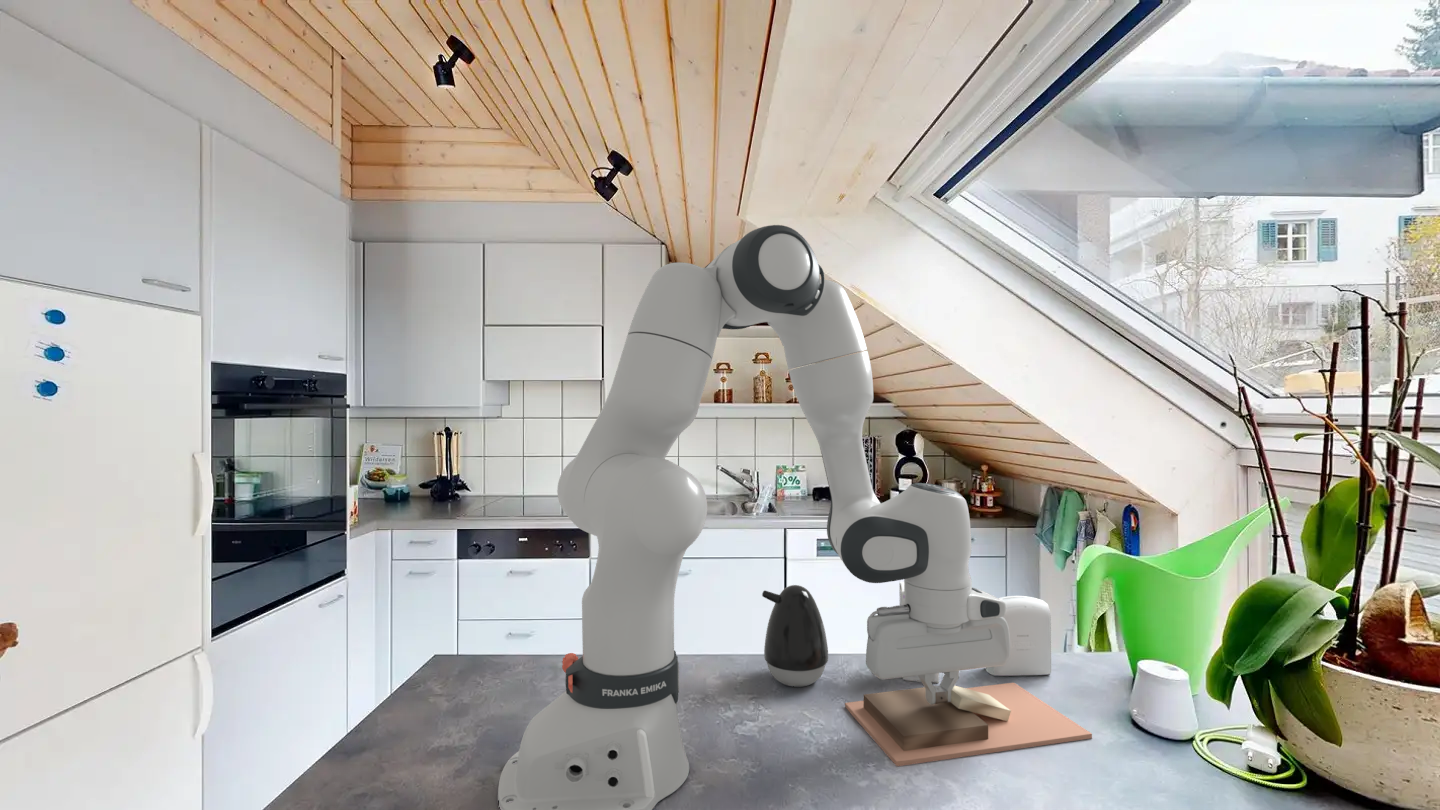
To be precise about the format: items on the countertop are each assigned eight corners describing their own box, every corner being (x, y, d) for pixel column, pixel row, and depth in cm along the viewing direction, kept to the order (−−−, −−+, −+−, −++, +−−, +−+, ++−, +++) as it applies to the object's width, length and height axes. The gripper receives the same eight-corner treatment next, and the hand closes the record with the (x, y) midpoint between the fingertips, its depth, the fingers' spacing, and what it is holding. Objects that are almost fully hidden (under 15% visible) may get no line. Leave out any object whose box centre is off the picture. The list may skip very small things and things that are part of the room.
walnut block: (903, 755, 85) (903, 736, 85) (863, 711, 97) (863, 694, 96) (988, 743, 87) (988, 724, 87) (939, 702, 99) (939, 685, 99)
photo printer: (991, 678, 107) (991, 601, 107) (981, 667, 112) (980, 593, 111) (1056, 677, 107) (1055, 600, 107) (1043, 666, 111) (1043, 592, 111)
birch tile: (958, 708, 90) (961, 697, 90) (938, 692, 95) (941, 681, 95) (1007, 721, 92) (1011, 710, 92) (985, 704, 97) (989, 694, 97)
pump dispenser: (762, 666, 113) (761, 576, 112) (824, 666, 112) (823, 576, 112) (764, 694, 103) (763, 595, 102) (832, 694, 102) (831, 595, 102)
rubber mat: (896, 766, 82) (896, 761, 82) (845, 706, 98) (845, 702, 98) (1092, 738, 88) (1091, 733, 88) (1013, 686, 104) (1013, 682, 104)
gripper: (877, 616, 87) (878, 721, 87) (1016, 602, 91) (1017, 703, 92) (857, 601, 93) (858, 699, 93) (988, 589, 97) (989, 683, 98)
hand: (938, 701), depth 92 cm, fingers closed
